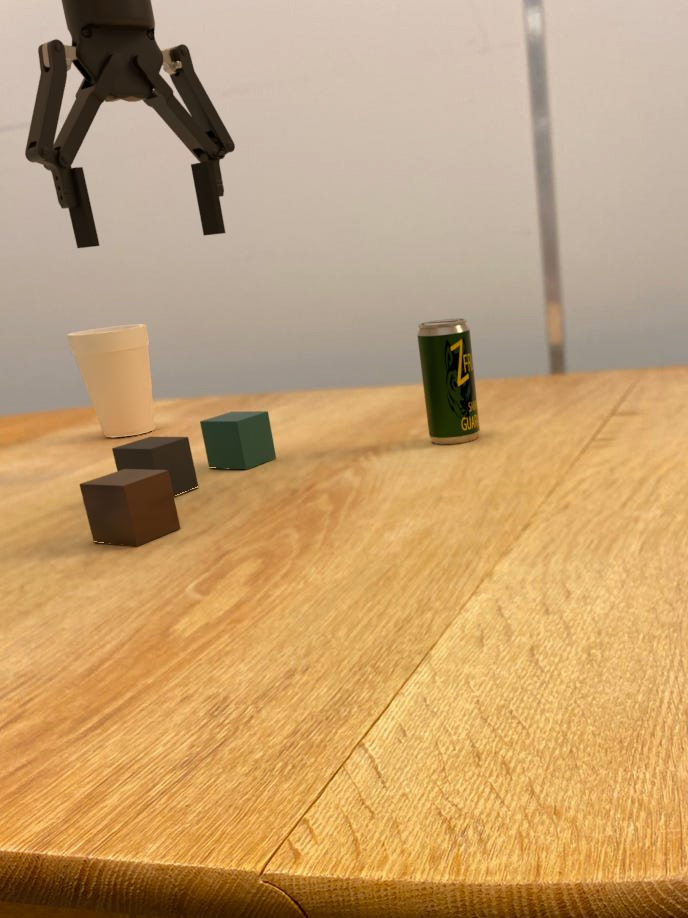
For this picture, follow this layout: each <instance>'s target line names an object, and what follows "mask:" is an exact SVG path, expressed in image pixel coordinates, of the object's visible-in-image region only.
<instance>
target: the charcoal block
mask: <svg viewBox="0 0 688 918" xmlns="http://www.w3.org/2000/svg"><path fill="white" fill-rule="evenodd" d="M111 451H112V455H113V459H114V464H115V467H116V472H117V471H120V470H123V469H145V470H168V472H169V476H170V481H171V486H172V490H173V495H174V496H175V495H177V494H180V493H182V492H185V491H188V490H190V489H192V488H195V487H197V486H198V487H199V483H198V477H197V474H196V473H197V472H196V467H195V463H194V458H193V454H192V448H191V443H190V438H189V436H148V437H145V438H141V439H137V440H134V441H132V442H128V443H125V444H122V445H119V446H115V447H112V448H111Z"/></svg>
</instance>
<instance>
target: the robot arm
mask: <svg viewBox="0 0 688 918" xmlns="http://www.w3.org/2000/svg"><path fill="white" fill-rule="evenodd" d="M61 5H62V10H63V15H64V20H65V24H66V28H67V30H68V32H69V35H70V38H71V45H69V44H64V43H63V42H62V41H61V40H60V39H58V38H57V39H56V38H54V39H52V40H50V41H47V42H44V43H42V44H39V46H38V47H37V53H38V60H39V70H40V75H39V81H38V86H37V90H36V94H35V95H36V96H35V101H34V106H33V111H32V115H31V121H30V125H29V131H28V136H27V141H26V145H25V152H24V155H25V158H26V160H27V161H29V162H30V163H33V164H34V163H36V164H40V165H43V167H44V169H46V170H47V171H50V173H51V176H52V179H53V184H54V188H55V193H56V198H57V202H58V204H59V206H60V208H61V209H68V213H69V217H70V222H71V226H72V229H73V231H72V232H73V235H74V238H75V244H76V248H77V249H84V248H92V247H93V248H94V247H100V240H99V236H98V231H97V228H96V222H95V218H94V213H93V209H92V204H91V200H90V195H89V190H88V186H87V181H86V177H85V176H86V175H85V172H84V167H83V166H79V167H78V166H77V167H75V166H74V167H72V165H73V163H74V161H75V159H76V157H77V156H78V155H77V154H78V153H79V151H80V148H81V147H82V144H83V143H84V140H85V138H86V136H87V135H88V133H89V131H90V128H91V126H92V124H93V123H94V120H95V118H96V116H97V113H98V111H99V110H100V107H101V105H102V104H103V103H104V102H105V103H114V102H118V101H120V100H121V101H125V102H128V103H136V102H140V101H143V103H144V104H145V105H146V106H148V107H150V108H152V109H153V110H154V111H155V112H156V113H157V115H158V116H159V117H160V118H161V119H162V120H163V122H164V123H165V124H166V125H167V126H168V127H169V128H170V130H171V131H172V132H173V133H174V135H176V137H177V138H178V139H179V140H180V141H181V143H182V144H183V145H184V146H185V147H186V149H187V150H188V151H189V152H190V153H191V154H192V155H193V157H194V158H196V160H197V161H198V162H196V163H190V169H191V173H192V174H191V175H192V179H193V185H194V191H195V195H196V201H197V206H198V207H197V208H198V212H199V217H200V223H201V228H202V234H203V236H213V235H222V234H226V228H225V227H226V226H225V222H224V217H223V211H222V205H221V200H220V197H224V195H225V194H224V193H225V188H224V182H223V176H222V170H221V165H220V161H221V160H223V159H225V157H226V155H227V154H229V153H233V152H234V151H235V148H236V145H235V142H234V140H233V139H232V136H231V135H230V133H229V131H228V129H227V127H226V126H225V123H223V121H222V118H221V117H220V114H219V113H218V111H217V110H216V107H215V105H214V104H213V102H212V100H211V98H210V97H209V94H208V93H207V91H206V89H205V87H204V86H203V84H202V82H201V80H200V78H199V76H198V74H197V73H196V71H195V67H194V64H193V59H192V56H191V53H190V49H189V47H188V46H187V45H186V44H183V43H180V44H179V45H174V46H172V47H169V48H162V49H161V48H160V46H159V45H158V42H157V41H156V37H155V29H156V21H155V15H154V9H153V5H152V0H61ZM72 65H73V66H74V67H75V69H77V71H78V73H80V74H81V76H82V77H83V79H82V81H81V83H80V85H79V87H78V89H77V91H76V93H75V100H74V102H73V105H72V107H70V110H69V112H68V114H67V116H66V118H65V120H64V122H63V124H62V127H61V128H60V131H59V132H58V134H57V137H56V133H57V129H58V124H59V121H60V120H59V119H60V114H61V109H62V105H63V101H64V95H65V89H66V84H67V77H68V72H69V71H70V70H71V69H72V68H71V67H72ZM162 67H163V68H162ZM162 69H163V71H164V72H165V73H167V74H168V75H169V78H170V80H171V82H172V84H173V86H174V88H175V90H176V92H177V93H178V95H179V97H180V98H181V101H182V102H183V104H184V105H185V107H184V105H183V104H182V103H181V102H180V101H179V99H178V98H177V97H176V95H174V90H173V88H172V87H171V86H170V85H169V83H168V82H167V81H166V80H165V78H164V77H163V76H162V75H161V74H160V72H161V70H162Z"/></svg>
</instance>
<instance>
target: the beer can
mask: <svg viewBox="0 0 688 918" xmlns="http://www.w3.org/2000/svg"><path fill="white" fill-rule="evenodd" d="M417 324H418V325H417V326H418V331H417V334H416V336H417V343H418V352H419V361H420V369H421V377H422V387H423V394H424V395H423V396H424V403H425V412H426V420H427V429H428V435H429V437H430V440H431V441H432V443H434V444H436V445H457V444H464V443H469V442H472V441H474V440H476V439H478V437H479V434H480V430H481V429H480V428H481V427H480V421H479V420H480V418H479V408H478V398H477V389H476V381H475V379H476V378H475V369H474V368H475V367H474V360H473V349H472V341H471V339H472V338H471V330H470V327H469V326H468V324H467V318H446V319H445V318H444V319H436V320H429V321H425V322H420V323H417Z"/></svg>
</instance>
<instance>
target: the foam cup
mask: <svg viewBox="0 0 688 918" xmlns="http://www.w3.org/2000/svg"><path fill="white" fill-rule="evenodd" d="M66 336H67V340H68V344H69V348H70V353H71V355H73V357H74V359H75V362H76V365H77V367H78V370H79V373H80V375H81V378H82V380H83V383H84V386H85V388H86V389H85V390H87V394H88V396H89V399H90V402H91V405H92V407H93V411H94V412H95V415H96V418H97V420H98V423H99V426H100V429H101V431H102V433H103V436H104V435H106V436H125V435H132V434H139V433H143V432H147V431H150V430H153V429H154V428H155V429H156V427H155V424H156V421H155V408H154V397H153V387H152V375H151V361H150V349H149V345H150V339H149V333H148V328H147V325H146V324H142V323H140V324H138V323H137V324H124V325H114V326H107V327H98V328H91V329H86V330H80V331H74V332H71V333H68V334H67V335H66Z"/></svg>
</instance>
